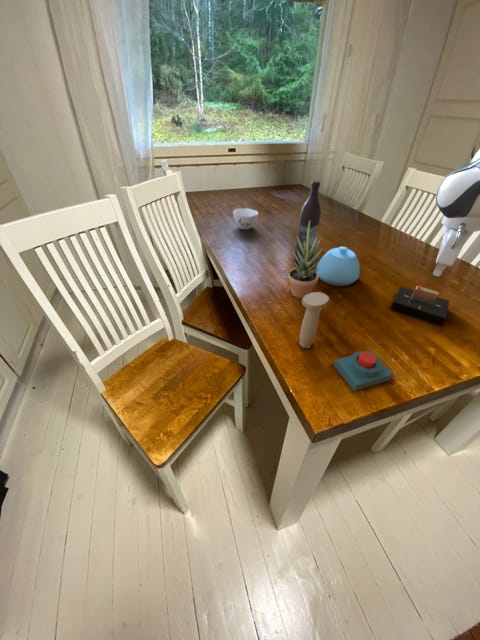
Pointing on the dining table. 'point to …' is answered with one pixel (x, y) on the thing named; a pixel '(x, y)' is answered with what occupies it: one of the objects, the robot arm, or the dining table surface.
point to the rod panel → (420, 307)
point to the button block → (362, 372)
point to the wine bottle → (309, 219)
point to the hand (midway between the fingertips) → (437, 268)
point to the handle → (311, 316)
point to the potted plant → (305, 268)
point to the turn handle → (424, 295)
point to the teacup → (245, 217)
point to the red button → (366, 360)
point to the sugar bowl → (339, 267)
